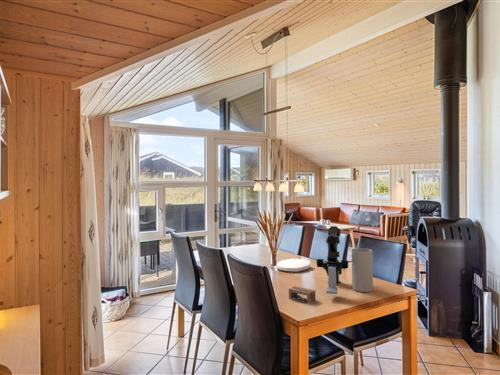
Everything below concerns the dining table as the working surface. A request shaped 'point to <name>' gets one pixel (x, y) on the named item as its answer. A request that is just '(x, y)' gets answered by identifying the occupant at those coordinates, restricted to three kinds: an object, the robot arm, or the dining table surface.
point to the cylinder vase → (362, 270)
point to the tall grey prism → (332, 280)
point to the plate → (293, 265)
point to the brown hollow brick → (304, 291)
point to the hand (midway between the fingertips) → (332, 276)
